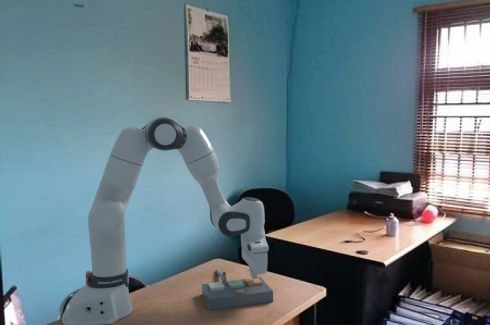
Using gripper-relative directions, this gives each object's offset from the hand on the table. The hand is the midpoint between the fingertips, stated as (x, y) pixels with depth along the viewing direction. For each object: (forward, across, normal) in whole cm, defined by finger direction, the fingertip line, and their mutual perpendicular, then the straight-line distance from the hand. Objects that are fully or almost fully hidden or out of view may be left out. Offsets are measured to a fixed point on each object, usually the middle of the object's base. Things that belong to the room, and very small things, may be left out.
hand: (253, 277), depth 156 cm
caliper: (+6, -18, -9) cm, 21 cm away
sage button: (+4, 0, -7) cm, 8 cm away
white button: (+4, 0, -14) cm, 15 cm away
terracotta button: (+4, 0, 0) cm, 4 cm away
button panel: (+6, +2, -7) cm, 10 cm away
